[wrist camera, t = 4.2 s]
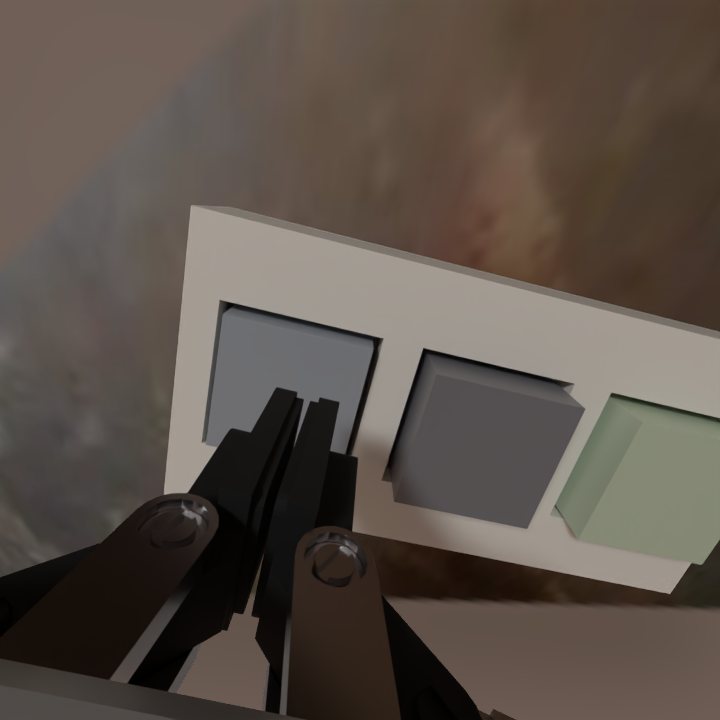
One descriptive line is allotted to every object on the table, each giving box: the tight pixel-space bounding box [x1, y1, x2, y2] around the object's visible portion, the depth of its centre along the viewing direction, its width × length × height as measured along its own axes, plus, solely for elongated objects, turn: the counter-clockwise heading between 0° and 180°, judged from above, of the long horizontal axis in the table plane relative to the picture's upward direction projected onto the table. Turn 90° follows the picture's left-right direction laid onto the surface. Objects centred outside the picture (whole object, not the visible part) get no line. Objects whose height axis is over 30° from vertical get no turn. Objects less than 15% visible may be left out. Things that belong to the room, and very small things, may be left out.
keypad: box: [164, 205, 720, 594], centre depth 17 cm, size 22×11×4 cm, turn 76°
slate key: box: [206, 304, 373, 454], centre depth 15 cm, size 5×5×3 cm
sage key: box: [555, 393, 720, 565], centre depth 16 cm, size 5×5×3 cm
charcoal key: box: [389, 348, 585, 529], centre depth 15 cm, size 5×5×3 cm
